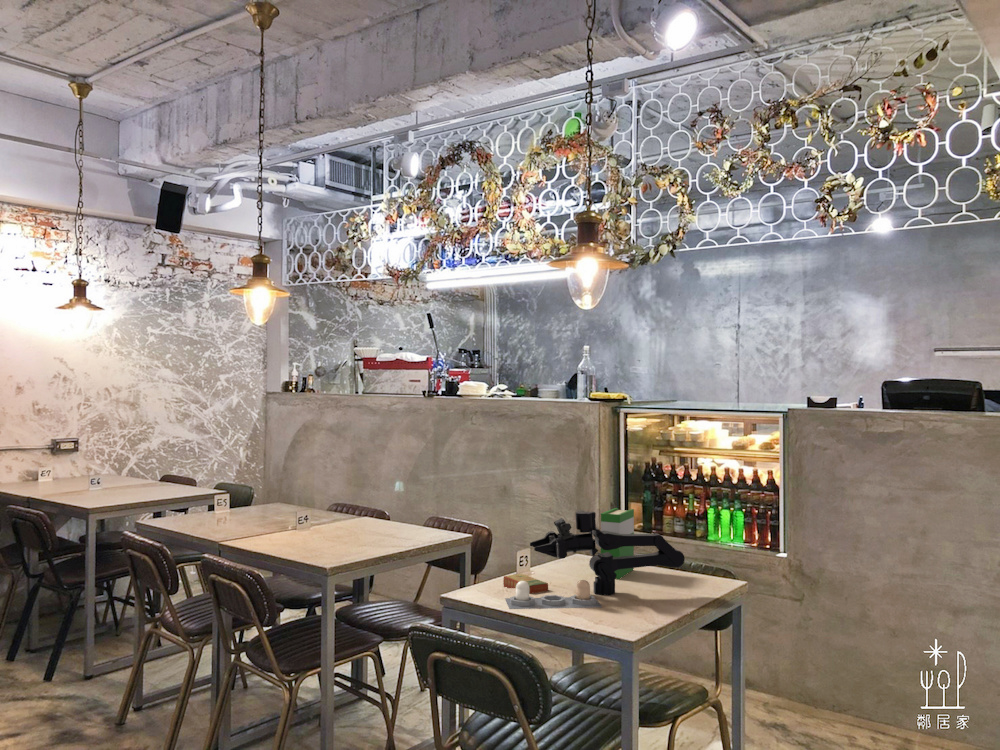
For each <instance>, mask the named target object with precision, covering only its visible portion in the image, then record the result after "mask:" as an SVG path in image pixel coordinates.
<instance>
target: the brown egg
mask: <svg viewBox="0 0 1000 750" xmlns="http://www.w3.org/2000/svg"><path fill="white" fill-rule="evenodd" d="M590 584H591V583H590V582H588V580H587V579H586V580H585V579H581V580H579V581H578V582H577V583H576V585H575V586H576V592H575V593H576V594H575V595H576V599H580V600H589V599H590V596H591V593H590V592H591V585H590Z"/></svg>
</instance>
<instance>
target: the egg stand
mask: <svg viewBox="0 0 1000 750" xmlns="http://www.w3.org/2000/svg"><path fill="white" fill-rule="evenodd" d="M504 600H505V602H506V605H507V606H508V609H509V610H527V609H528V610H533V609H534V610H535V609H538V610H539V609H540V610H541V609H588V608H589V609H590V608H593V609H594V608H596V609H597V608H600V609H601V608H603V605H602V604H600V602H599V601H598V600H597V599H596V597H595V596H594V595H590V599H589V600H580V599H576V594H574V595H571V596H567V597H564V596H562V595H558V594H546V595H542V596H540V597H534V596H530V595H529V600H528V601H518V600H516V595H514V596H511V597H509V598H508V597H507V598H504Z"/></svg>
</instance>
